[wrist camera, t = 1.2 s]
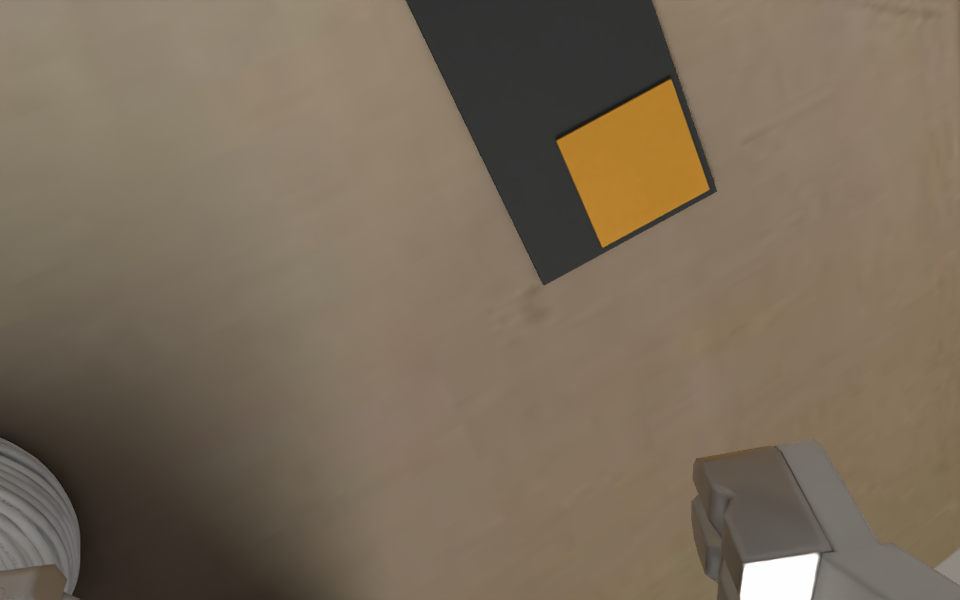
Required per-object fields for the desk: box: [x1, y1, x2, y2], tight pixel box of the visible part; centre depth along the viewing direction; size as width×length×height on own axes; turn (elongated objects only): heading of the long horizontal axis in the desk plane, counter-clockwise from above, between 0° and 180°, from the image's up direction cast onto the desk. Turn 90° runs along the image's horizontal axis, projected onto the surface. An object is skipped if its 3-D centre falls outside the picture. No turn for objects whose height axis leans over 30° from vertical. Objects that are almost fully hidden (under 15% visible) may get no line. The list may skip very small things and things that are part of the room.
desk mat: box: [406, 0, 717, 285], centre depth 51 cm, size 20×13×1 cm, turn 25°
